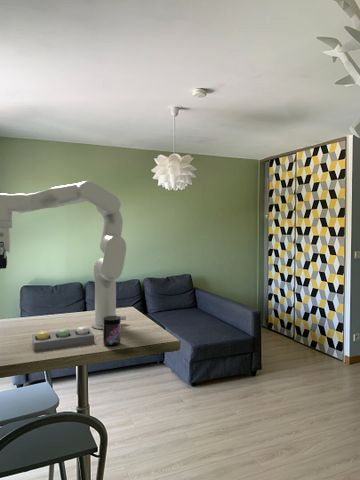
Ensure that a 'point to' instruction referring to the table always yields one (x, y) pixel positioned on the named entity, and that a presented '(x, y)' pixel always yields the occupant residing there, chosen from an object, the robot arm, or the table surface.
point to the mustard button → (42, 335)
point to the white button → (82, 330)
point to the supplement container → (111, 330)
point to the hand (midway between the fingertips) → (2, 267)
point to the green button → (62, 333)
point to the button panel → (62, 340)
